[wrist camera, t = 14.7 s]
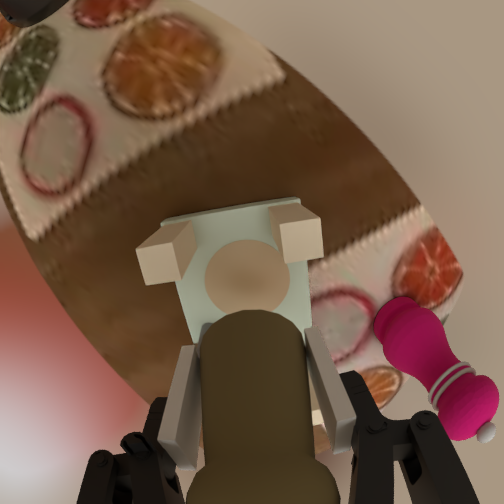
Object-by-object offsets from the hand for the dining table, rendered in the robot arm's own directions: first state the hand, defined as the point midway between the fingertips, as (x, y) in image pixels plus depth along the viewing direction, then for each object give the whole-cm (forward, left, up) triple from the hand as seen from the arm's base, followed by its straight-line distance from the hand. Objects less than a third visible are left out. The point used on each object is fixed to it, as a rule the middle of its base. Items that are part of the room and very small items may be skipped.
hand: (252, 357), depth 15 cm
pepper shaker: (0, 0, 0) cm, 0 cm away
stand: (+3, -1, -13) cm, 13 cm away
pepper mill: (+9, +16, -13) cm, 23 cm away
